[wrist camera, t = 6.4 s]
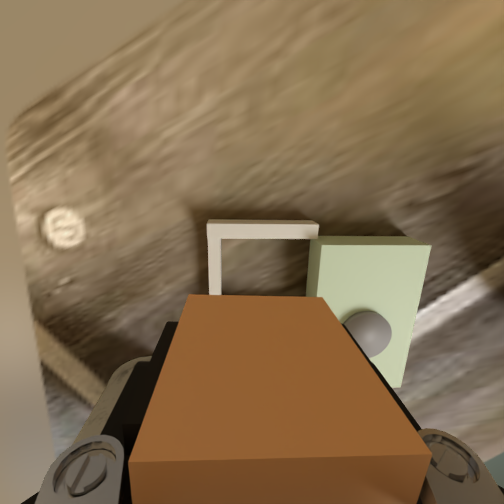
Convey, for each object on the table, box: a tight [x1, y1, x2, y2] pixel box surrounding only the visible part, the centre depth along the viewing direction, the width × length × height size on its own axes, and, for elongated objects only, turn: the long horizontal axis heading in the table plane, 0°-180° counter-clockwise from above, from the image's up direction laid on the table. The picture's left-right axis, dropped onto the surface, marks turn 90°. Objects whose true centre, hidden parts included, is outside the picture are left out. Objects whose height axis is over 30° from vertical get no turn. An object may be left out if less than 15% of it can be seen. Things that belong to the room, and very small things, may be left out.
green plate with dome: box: [207, 219, 431, 388], centre depth 24 cm, size 15×18×4 cm
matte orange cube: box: [128, 294, 432, 504], centre depth 7 cm, size 5×5×6 cm
